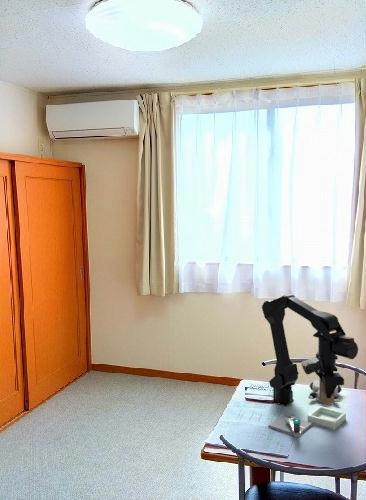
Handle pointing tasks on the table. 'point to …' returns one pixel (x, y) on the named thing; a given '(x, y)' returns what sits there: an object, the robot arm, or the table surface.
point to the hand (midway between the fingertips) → (326, 395)
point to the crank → (294, 425)
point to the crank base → (283, 427)
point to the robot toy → (315, 388)
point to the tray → (327, 417)
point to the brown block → (323, 395)
